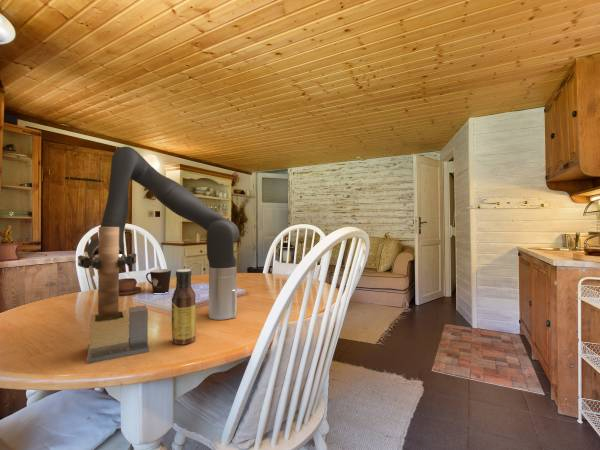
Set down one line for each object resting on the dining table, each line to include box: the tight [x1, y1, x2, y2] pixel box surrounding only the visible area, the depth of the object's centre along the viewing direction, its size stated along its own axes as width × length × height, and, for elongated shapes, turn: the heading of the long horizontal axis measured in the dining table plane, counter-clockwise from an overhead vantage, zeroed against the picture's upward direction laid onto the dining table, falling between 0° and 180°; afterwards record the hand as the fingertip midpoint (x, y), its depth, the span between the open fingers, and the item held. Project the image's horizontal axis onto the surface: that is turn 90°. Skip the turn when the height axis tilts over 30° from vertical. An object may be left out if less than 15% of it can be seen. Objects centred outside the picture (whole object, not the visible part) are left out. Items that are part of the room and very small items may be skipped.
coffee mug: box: [145, 268, 172, 294], centre depth 143 cm, size 12×9×10 cm
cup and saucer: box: [119, 277, 142, 296], centre depth 141 cm, size 12×12×6 cm
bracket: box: [86, 304, 150, 364], centre depth 81 cm, size 10×13×10 cm
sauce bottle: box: [171, 268, 197, 345], centre depth 87 cm, size 7×6×20 cm
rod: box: [97, 226, 120, 317], centre depth 80 cm, size 4×4×22 cm
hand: (109, 264), depth 77 cm, fingers closed on rod, 4 cm apart
